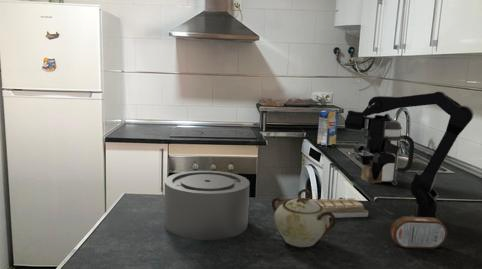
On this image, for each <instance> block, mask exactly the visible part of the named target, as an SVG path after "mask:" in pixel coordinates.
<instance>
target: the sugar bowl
mask: <svg viewBox="0 0 482 269" xmlns="http://www.w3.org/2000/svg"><path fill="white" fill-rule="evenodd" d="M303 193H306V194H307V197H302V196H301V195H302V194H303ZM310 199H311V192H310V191H309V190H308V189H307V188H303V189H301V190H300V191H298V194H297V198H293V199H289V200H287V199H284V198H282V197H280V196H276V197H275V196H274V198H272V200H271V207H272V210H273V211H274V216H273V217H274V218H273V220H274V223H275V226H276V228H277V231H278V232H279V234H280V235H281V236H282V238H283V240H284V241H285V243H287V244H289V245H290V246H293V247H298V248H307V247H308V248H309V247H312V246H314V245H315V244H316V243H317V242H318V241H319V240H320V239H321V238H322V237H324V236H325V235H326V234H327V233H328V232H329V231H330V230H332V229H333V228H334V227H335V225H336V222H337V221H336V220H337V219H336V218H335V216H334V215H333V213H332V212H328V211H325V210H324V209H323V207H322V206H321V205H320V204H318V203H316V202H313V201H311V200H310ZM276 201H277V202H278V205H276ZM282 202H283V203H282ZM328 215H329V216H330V217H331V223H330V218H329V217H328Z"/></svg>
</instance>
